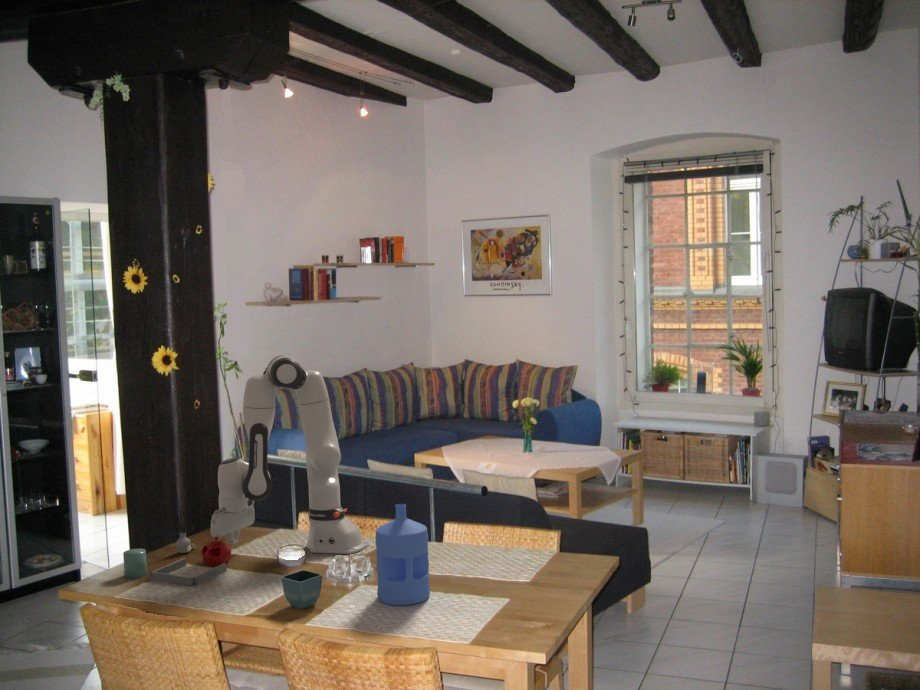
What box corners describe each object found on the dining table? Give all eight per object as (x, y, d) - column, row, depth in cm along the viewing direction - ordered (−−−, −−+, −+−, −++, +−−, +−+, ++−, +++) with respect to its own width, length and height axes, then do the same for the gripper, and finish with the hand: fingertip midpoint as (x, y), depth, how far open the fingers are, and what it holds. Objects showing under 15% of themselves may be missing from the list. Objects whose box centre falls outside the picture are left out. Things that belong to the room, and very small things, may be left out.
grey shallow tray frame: (226, 570, 302) (226, 563, 302) (194, 586, 288) (193, 578, 288) (184, 565, 310) (183, 558, 310) (150, 579, 295) (149, 572, 295)
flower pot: (304, 598, 274) (303, 569, 273) (324, 604, 268) (323, 574, 267) (281, 606, 267) (280, 576, 266) (301, 613, 261) (300, 582, 261)
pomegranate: (216, 557, 318) (215, 531, 318) (237, 561, 313) (236, 534, 313) (195, 565, 310) (194, 538, 309) (216, 569, 305) (215, 541, 304)
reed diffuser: (182, 557, 319) (179, 501, 318) (165, 555, 321) (162, 500, 320) (199, 548, 329) (196, 494, 328) (183, 547, 331) (180, 493, 330)
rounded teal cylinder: (151, 573, 302) (150, 549, 302) (136, 579, 296) (134, 555, 295) (135, 571, 305) (134, 547, 304) (119, 577, 299) (118, 553, 298)
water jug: (371, 593, 276) (368, 502, 274) (420, 585, 282) (417, 496, 280) (385, 610, 262) (382, 514, 260) (437, 601, 267) (434, 507, 265)
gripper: (219, 512, 308) (221, 552, 309) (256, 498, 327) (258, 536, 328) (205, 510, 311) (206, 550, 312) (242, 497, 329) (244, 535, 330)
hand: (233, 543), depth 320 cm, fingers closed
